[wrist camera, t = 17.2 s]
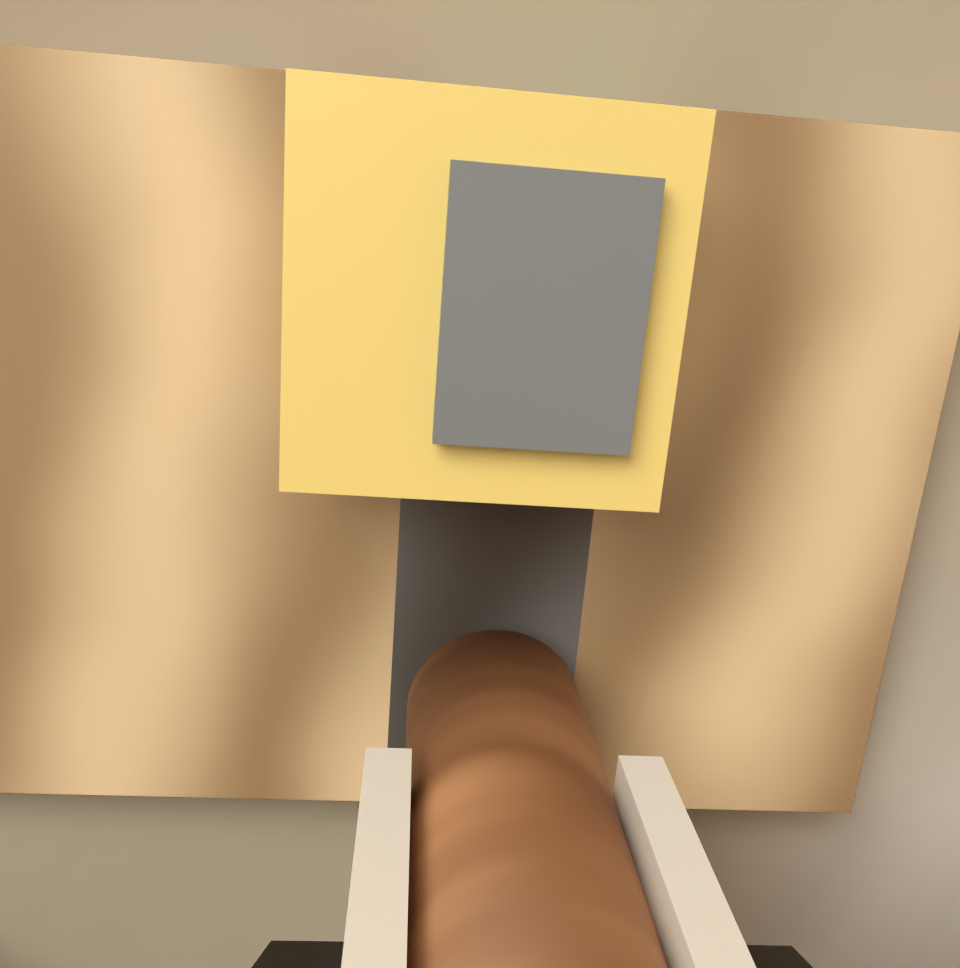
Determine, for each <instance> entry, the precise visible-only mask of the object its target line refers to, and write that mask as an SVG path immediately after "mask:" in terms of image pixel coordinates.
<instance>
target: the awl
mask: <svg viewBox="0 0 960 968" xmlns="http://www.w3.org/2000/svg"><path fill="white" fill-rule="evenodd" d="M405 748H409V749H412V764H411V805H410V846H409V887H408V928H407V968H668V965H667V962H666V959H665V955H664V952H663V949H662V946H661V943H660V940H659V937H658V934H657V931H656V928H655V925H654V922H653V919H652V916H651V913H650V910H649V907H648V904H647V901H646V898H645V894H644V891H643V888H642V885H641V882H640V879H639V876H638V873H637V870H636V867H635V864H634V861H633V858H632V855H631V852H630V849H629V846H628V843H627V840H626V837H625V833H624V830H623V827H622V824H621V821H620V818H619V815H618V812H617V809H616V806H615V803H614V800H613V797H612V794H611V791H610V788H609V785H608V782H607V779H606V775H605V772H604V769H603V766H602V763H601V760H600V757H599V754H598V751H597V748H596V745H595V742H594V739H593V736H592V733H591V730H590V727H589V724H588V721H587V718H586V714H585V711H584V708H583V705H582V702H581V699H580V696H579V693H578V690H577V687H576V684H575V681H574V679H573V676H572V674H571V672H570V670H569V668H568V667H567V665H566V664H565V662H564V661H563V660H562V659H561V657H560V656H559V655H558V654H557V653H556V652H555V651H554V650H552V649H551V648H550V647H548V646H547V645H546V644H544V643H543V642H541V641H539V640H537V639H535V638H533V637H531V636H528V635H525V634H522V633H518V632H514V631H507V630H485V631H477V632H473V633H470V634H466V635H463V636H461V637H458V638H456V639H454V640H452V641H450V642H448V643H446V644H445V645H443V646H442V647H441V648H439V649H438V650H436V651H435V652H434V653H433V654H432V655H431V656H430V657H429V658H428V659H427V660H426V661H425V662H424V664H423V665H422V666H421V667H420V669H419V671H418V672H417V674H416V675H415V678H414V680H413V682H412V684H411V687H410V691H409V694H408V701H407V719H406V745H405Z"/></svg>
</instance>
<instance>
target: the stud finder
mask: <svg viewBox="0 0 960 968" xmlns="http://www.w3.org/2000/svg"><path fill="white" fill-rule="evenodd" d="M715 116H716V110H715V109H705V108H695V107H684V106H674V105H663V104H653V103H643V102H632V101H622V100H611V99H601V98H591V97H580V96H570V95H560V94H549V93H539V92H528V91H518V90H508V89H497V88H487V87H477V86H466V85H456V84H445V83H435V82H425V81H414V80H404V79H393V78H383V77H373V76H362V75H352V74H342V73H331V72H321V71H310V70H300V69H290V68H286V89H285V150H284V211H283V272H282V332H281V393H280V454H279V491H281V492H299V493H317V494H334V495H352V496H370V497H388V498H406V499H424V500H442V501H460V502H478V503H496V504H514V505H531V506H549V507H567V508H585V509H603V510H621V511H639V512H657V513H659V509H660V502H661V495H662V488H663V481H664V474H665V467H666V460H667V453H668V446H669V439H670V432H671V425H672V418H673V411H674V404H675V397H676V390H677V383H678V376H679V369H680V362H681V355H682V348H683V341H684V334H685V327H686V320H687V313H688V306H689V298H690V291H691V284H692V277H693V270H694V263H695V256H696V249H697V242H698V235H699V228H700V221H701V214H702V207H703V200H704V193H705V186H706V179H707V172H708V165H709V158H710V151H711V144H712V137H713V130H714V123H715Z"/></svg>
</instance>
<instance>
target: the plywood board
mask: <svg viewBox="0 0 960 968" xmlns="http://www.w3.org/2000/svg"><path fill="white" fill-rule="evenodd" d="M285 89H286V70H276V69H265V68H254V67H243V66H232V65H222V64H211V63H200V62H189V61H178V60H167V59H157V58H146V57H135V56H124V55H113V54H102V53H92V52H81V51H70V50H59V49H48V48H37V47H27V46H16V45H5V44H0V793H35V794H77V795H120V796H163V797H206V798H248V799H291V800H334V801H360V794H361V785H362V777H363V768H364V759H365V750H366V747H377V748H405V745H406V719H407V701H408V694H409V691H410V687H411V684H412V682H413V680H414V678H415V675H416V674H417V672H418V671H419V669H420V667H421V666H422V665H423V664H424V662H425V661H426V660H427V659H428V658H429V657H430V656H431V655H432V654H433V653H434V652H435V651H436V650H438V649H439V648H441V647H442V646H443V645H445V644H446V643H448V642H450V641H452V640H454V639H456V638H458V637H461V636H463V635H466V634H470V633H473V632H477V631H485V630H507V631H514V632H518V633H522V634H525V635H528V636H531V637H533V638H535V639H537V640H539V641H541V642H543V643H544V644H546V645H547V646H548V647H550V648H551V649H552V650H554V651H555V652H556V653H557V654H558V655H559V656H560V657H561V659H562V660H563V661H564V662H565V664H566V665H567V667H568V668H569V670H570V672H571V674H572V676H573V679H574V681H575V684H576V687H577V690H578V693H579V696H580V699H581V702H582V705H583V708H584V711H585V714H586V718H587V721H588V724H589V727H590V730H591V733H592V736H593V739H594V742H595V745H596V748H597V751H598V754H599V757H600V760H601V763H602V766H603V769H604V772H605V775H606V779H607V782H608V785H609V788H610V791H611V794H612V797H613V791H614V783H615V776H616V769H617V761H618V755H628V756H659V757H663V759H664V761H665V764H666V766H667V768H668V770H669V773H670V775H671V777H672V779H673V782H674V784H675V786H676V788H677V791H678V793H679V795H680V797H681V800H682V802H683V804H684V806H685V809H719V810H761V811H804V812H847V813H851V810H852V806H853V801H854V797H855V793H856V788H857V784H858V779H859V775H860V770H861V766H862V761H863V757H864V753H865V748H866V744H867V739H868V735H869V730H870V726H871V721H872V717H873V713H874V708H875V704H876V699H877V695H878V690H879V686H880V681H881V677H882V673H883V668H884V664H885V659H886V655H887V650H888V646H889V641H890V637H891V633H892V628H893V624H894V619H895V615H896V610H897V606H898V601H899V597H900V593H901V588H902V584H903V579H904V575H905V570H906V566H907V561H908V557H909V553H910V548H911V544H912V539H913V535H914V530H915V526H916V521H917V517H918V513H919V508H920V504H921V499H922V495H923V490H924V486H925V481H926V477H927V473H928V468H929V464H930V459H931V455H932V450H933V446H934V441H935V437H936V433H937V428H938V424H939V419H940V415H941V410H942V406H943V401H944V397H945V393H946V388H947V384H948V379H949V375H950V370H951V366H952V361H953V357H954V353H955V348H956V344H957V339H958V335H959V330H960V133H959V132H948V131H937V130H926V129H915V128H904V127H894V126H883V125H872V124H861V123H850V122H839V121H829V120H818V119H807V118H796V117H785V116H774V115H764V114H753V113H742V112H731V111H720V110H716V116H715V123H714V130H713V137H712V144H711V151H710V158H709V165H708V172H707V179H706V186H705V193H704V200H703V207H702V214H701V221H700V228H699V235H698V242H697V249H696V256H695V263H694V270H693V277H692V284H691V291H690V298H689V306H688V313H687V320H686V327H685V334H684V341H683V348H682V355H681V362H680V369H679V376H678V383H677V390H676V397H675V404H674V411H673V418H672V425H671V432H670V439H669V446H668V453H667V460H666V467H665V474H664V481H663V488H662V495H661V502H660V509H659V513H657V512H639V511H621V510H603V509H585V508H567V507H549V506H531V505H514V504H496V503H478V502H460V501H442V500H424V499H406V498H388V497H370V496H352V495H334V494H317V493H299V492H281V491H279V454H280V393H281V332H282V272H283V211H284V150H285Z"/></svg>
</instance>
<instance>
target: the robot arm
mask: <svg viewBox="0 0 960 968" xmlns="http://www.w3.org/2000/svg"><path fill="white" fill-rule="evenodd" d="M411 764H412V749H409V748H377V747H366V750H365V759H364V768H363V777H362V785H361V794H360V803H359V812H358V821H357V830H356V839H355V848H354V857H353V865H352V874H351V883H350V892H349V901H348V910H347V919H346V928H345V936H344V942H327V941H271V942H270V943H269V945H268V946H267V947H266V949H265V950H264V951H263V953H262V954H261V956H260V957H259V958H258V960H257V961H256V962H255V964H254V965H253V966H252V968H407V928H408V887H409V846H410V805H411ZM613 800H614V803H615V806H616V809H617V812H618V815H619V818H620V821H621V824H622V827H623V830H624V833H625V837H626V840H627V843H628V846H629V849H630V852H631V855H632V858H633V861H634V864H635V867H636V870H637V873H638V876H639V879H640V882H641V885H642V888H643V891H644V894H645V898H646V901H647V904H648V907H649V910H650V913H651V916H652V919H653V922H654V925H655V928H656V931H657V934H658V937H659V940H660V943H661V946H662V949H663V952H664V955H665V959H666V962H667V965H668V968H813V967H812V966H811V965H810V964H809V963H808V962H807V961H806V960H805V959H804V958H803V957H802V956H801V955H800V954H799V953H798V952H797V951H796V950H795V949H794V948H793V947H792V946H767V945H746V943H745V941H744V939H743V936H742V934H741V932H740V930H739V927H738V925H737V923H736V921H735V919H734V916H733V914H732V912H731V910H730V907H729V905H728V903H727V901H726V898H725V896H724V894H723V892H722V889H721V887H720V885H719V883H718V880H717V878H716V876H715V874H714V871H713V869H712V867H711V865H710V862H709V860H708V858H707V856H706V853H705V851H704V849H703V847H702V844H701V842H700V840H699V838H698V835H697V833H696V831H695V829H694V826H693V824H692V822H691V820H690V817H689V815H688V813H687V811H686V809H685V806H684V804H683V802H682V800H681V797H680V795H679V793H678V791H677V788H676V786H675V784H674V782H673V779H672V777H671V775H670V773H669V770H668V768H667V766H666V764H665V761H664V759H663V757H659V756H628V755H618V761H617V769H616V776H615V783H614V791H613Z"/></svg>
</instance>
